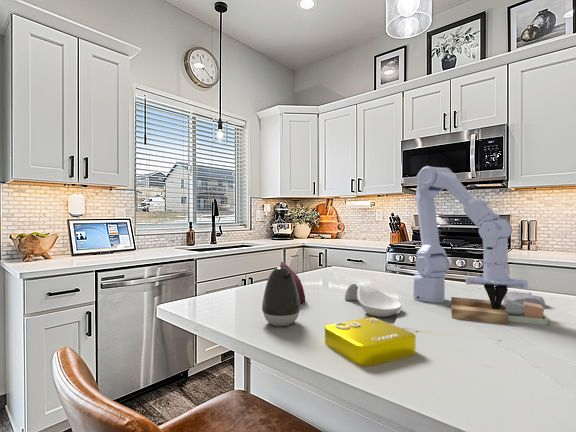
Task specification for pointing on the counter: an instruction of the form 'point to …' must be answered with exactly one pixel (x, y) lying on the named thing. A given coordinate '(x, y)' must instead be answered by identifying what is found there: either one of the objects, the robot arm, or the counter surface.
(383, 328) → the element tile
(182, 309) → the counter surface
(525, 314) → the terracotta block
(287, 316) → the black egg shape
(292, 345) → the counter surface
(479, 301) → the oak channel board
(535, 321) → the sage tray
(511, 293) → the stone block
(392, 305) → the spoon rest
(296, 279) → the vegetable
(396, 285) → the counter surface
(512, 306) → the grey steel block
